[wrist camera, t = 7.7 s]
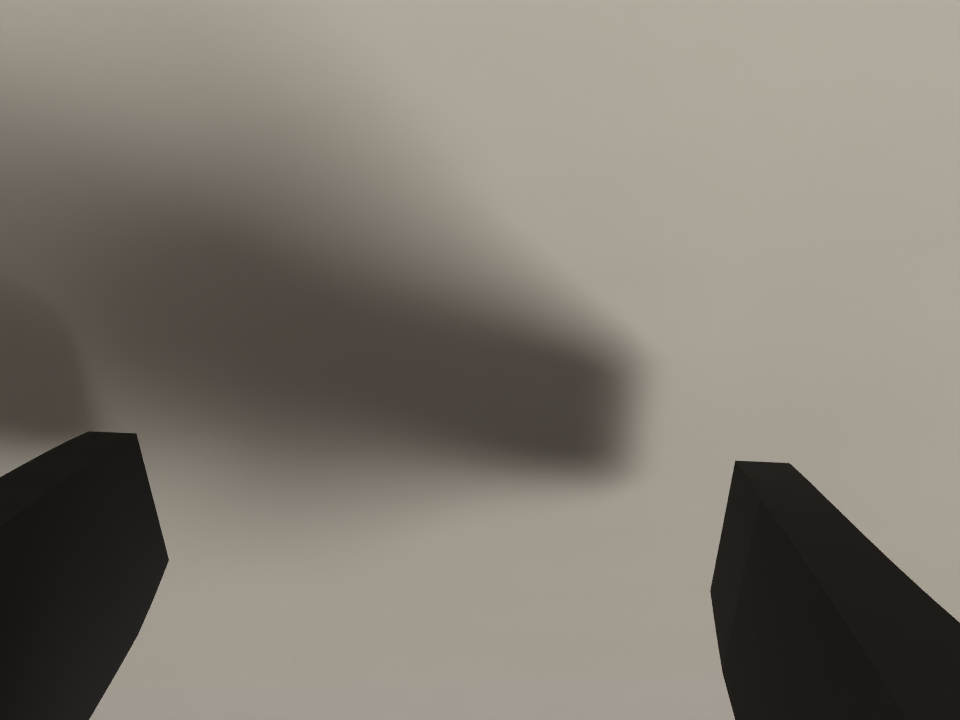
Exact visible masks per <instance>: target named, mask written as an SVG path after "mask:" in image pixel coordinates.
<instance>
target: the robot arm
mask: <svg viewBox="0 0 960 720" xmlns="http://www.w3.org/2000/svg"><path fill="white" fill-rule="evenodd" d="M168 561H169V559H168V555H167V551H166V547H165V543H164V539H163V535H162V531H161V528H160V524H159V520H158V516H157V512H156V508H155V504H154V500H153V497H152V493H151V489H150V485H149V481H148V477H147V473H146V469H145V465H144V462H143V458H142V454H141V450H140V446H139V442H138V438H137V434H133V433H111V432H87V433H84V434H82V435H80V436H78V437H76V438H73V439H71V440H69V441H67V442H65V443H63V444H61V445H59V446H57V447H55V448H53V449H51V450H49V451H48V452H46V453H44V454H42V455H40V456H38V457H36V458H34V459H33V460H31V461H29V462H27V463H25V464H23V465H22V466H20V467H18V468H16V469H14V470H13V471H11V472H9V473H7V474H5V475H4V476H2V477H0V720H89V719H90V717H91V715H92V714H93V712H94V710H95V709H96V707H97V705H98V703H99V702H100V700H101V698H102V697H103V695H104V693H105V691H106V690H107V688H108V686H109V685H110V683H111V681H112V679H113V678H114V676H115V674H116V672H117V671H118V669H119V667H120V665H121V664H122V662H123V660H124V658H125V657H126V655H127V653H128V651H129V650H130V648H131V646H132V644H133V642H134V641H135V639H136V637H137V635H138V633H139V631H140V629H141V626H142V624H143V622H144V619H145V617H146V615H147V613H148V610H149V608H150V606H151V604H152V601H153V599H154V596H155V594H156V591H157V589H158V586H159V584H160V581H161V579H162V576H163V574H164V571H165V569H166V566H167V564H168ZM710 592H711V599H712V606H713V613H714V620H715V627H716V634H717V640H718V647H719V653H720V659H721V665H722V671H723V676H724V679H725V683H726V687H727V691H728V694H729V698H730V702H731V705H732V709H733V713H734V716H735V720H960V623H959V622H958V621H957V620H956V619H955V618H954V617H952V616H951V615H950V614H949V613H948V612H947V611H946V610H944V609H943V608H942V607H941V606H940V605H939V604H938V603H937V602H935V601H934V600H933V599H932V598H931V597H930V596H929V595H928V594H926V593H925V592H924V591H923V590H922V589H921V588H920V587H919V586H918V585H917V584H915V583H914V582H913V581H912V580H911V579H910V578H909V577H908V576H907V575H906V574H905V573H904V572H902V571H901V570H900V569H899V568H898V567H897V566H896V565H895V564H894V563H893V562H892V561H891V560H890V559H889V558H887V557H886V556H885V555H884V554H883V553H882V552H881V551H880V550H879V549H878V548H877V547H876V546H875V545H874V544H873V543H872V542H871V541H870V540H869V539H868V538H866V537H865V536H864V535H863V534H862V533H861V532H860V531H859V530H858V529H857V528H856V527H855V526H854V525H853V524H852V523H851V522H850V521H849V520H848V519H847V518H846V517H845V516H844V515H843V514H842V513H841V512H840V511H839V510H838V509H837V508H836V507H835V506H834V505H833V504H832V503H831V502H830V501H828V500H827V499H826V498H825V497H824V496H823V495H822V494H821V493H820V492H819V491H818V490H817V489H816V488H815V487H814V486H813V485H812V484H811V483H810V482H809V481H808V480H807V479H806V478H805V477H804V476H803V475H802V474H801V473H800V472H798V471H797V470H796V469H795V468H794V467H793V466H792V465H791V464H790V463H773V462H751V461H735V465H734V471H733V476H732V481H731V486H730V491H729V497H728V502H727V507H726V512H725V518H724V523H723V528H722V533H721V538H720V544H719V549H718V554H717V559H716V565H715V570H714V575H713V580H712V585H711V591H710Z"/></svg>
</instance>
